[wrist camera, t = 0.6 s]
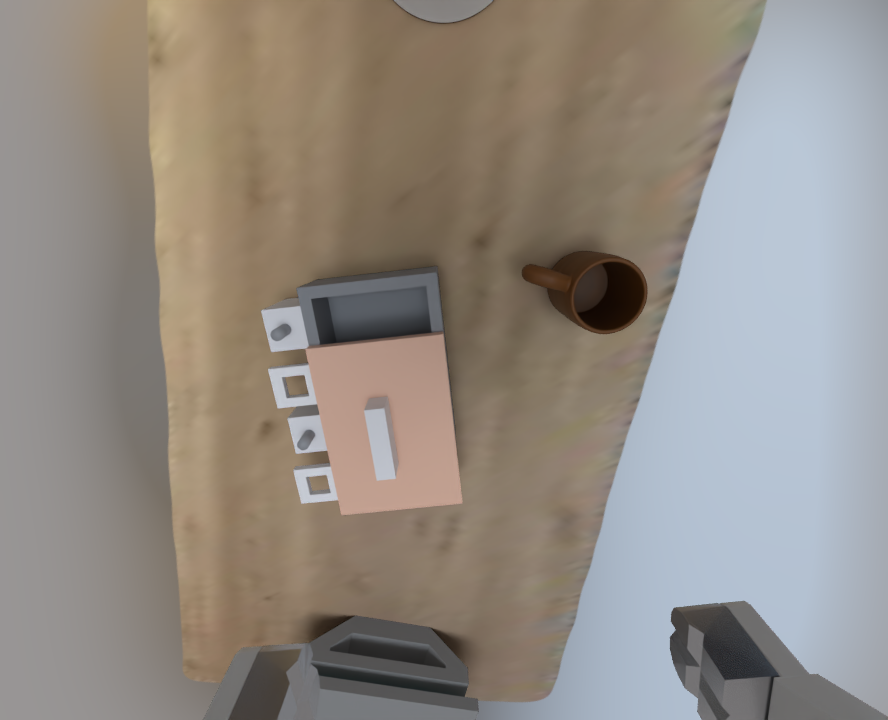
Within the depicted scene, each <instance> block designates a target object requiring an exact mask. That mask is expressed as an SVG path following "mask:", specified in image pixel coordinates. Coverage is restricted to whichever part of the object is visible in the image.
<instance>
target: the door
mask: <svg viewBox="0 0 888 720" xmlns="http://www.w3.org/2000/svg"><path fill="white" fill-rule="evenodd" d="M305 351H306V355H307V360H308V363H303V364H294V365H285V366H275V367H270V368H269V369H268V371H269V375H270V379H271V383H272V387H273V391H274V395H275V399H276V403H277V407H278V408H286V407H295V406H305V405H315V404H317V405H318V410H319V415H320V419H321V424H322V428H323V433H324V437H325V442H326V447H327V451H328V456H329V460H330V463H325V464H315V465H305V466H296V467H295V468H294V470H293V471H294V475H295V479H296V483H297V487H298V491H299V495H300V499H301V503H312V502H322V501H333V500H338V502H339V506H340V511H341V515H349V514H359V513H369V512H380V511H390V510H400V509H410V508H421V507H431V506H441V505H451V504H462V493H461V484H460V475H459V466H458V457H457V448H456V439H455V431H454V422H453V413H452V404H451V395H450V386H449V377H448V368H447V360H446V351H445V342H444V333H443V332H434V333H425V334H416V335H407V336H397V337H388V338H379V339H370V340H360V341H351V342H342V343H333V344H323V345H314V346H308V347H307V348H306V349H305ZM298 375H305V380H306V384H307V388H308V393H309V394H300V395H291V396H289V392H288V388H287V383H286V379H285V377H289V376H298ZM321 475H327V478H328V482H329V487H330V489H327V490H316V491H312V488H311V484H310V480H309V477H311V476H321Z"/></svg>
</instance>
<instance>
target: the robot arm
mask: <svg viewBox="0 0 888 720" xmlns="http://www.w3.org/2000/svg"><path fill="white" fill-rule="evenodd" d="M394 1H395V2H396V3H397V4H398V5H399V6H400V7H402V8H403V9H404V10H406V11H407V12H409V13H410V14H412V15H414V16H416V17H418V18H421V19H424V20H427V21H432V22H439V23H448V22H456V21H460V20H463V19H466V18H469V17H471V16H473V15H475V14H477V13H478V12H480V11H481V10H483V9H484V8H485V7H487V6H488V5H489V4H490V3H491V2H492V1H493V0H394ZM671 622H672V624H673V625H674V627H675V629H676V631H675V632H674V633H673V634H672V635H671V637H670V651H671V655H672V660H673V664H674V666H675V669H676V671H677V673H678V676H679V678H680V680H681V682H682V683H683V686H684V687H685V688H686V689H687V690H688V691H689V692H690V693H692V694H693V695H694V696H696V697H697V698H698V710H697V712H698V713H699V715H700V717H701V719H702V720H888V717H887V716H886V715H884V714H882V713H881V712H879V711H877V710H876V709H874V708H872V707H871V706H869V705H868V704H866V703H864V702H863V701H861V700H859V699H858V698H856V697H854V696H853V695H851V694H850V693H848V692H846V691H845V690H843V689H841V688H840V687H838V686H836V685H835V684H833V683H831V682H830V681H828V680H826V679H825V678H823V677H822V676H820V675H818V674H809V673H808V672H807V671H806V670H805V669H804V667H803V666H802V665H801V664H800V663H799V661H798V660H797V659H796V658H795V657H794V655H793V654H792V653H791V652H790V651H789V650H788V648H787V647H786V646H785V645H784V644H783V642H782V641H781V640H780V639H779V638H778V637H777V636H776V634H775V633H774V632H773V631H772V630H771V628H770V627H769V626H768V625H767V624H766V623H765V621H764V620H763V619H762V618H761V617H760V615H759V614H758V613H757V612H756V611H755V610H754V608H753V607H752V606H751V605H750V604H748V603H747V602H745V601H738V602H728V603H720V604H718V603H714V604H704V605H695V606H686V607H676V608H674V609H673V611H672V614H671ZM312 657H313V652H312V649H311V646H310V643H300V644H284V645H268V646H256V647H243V648H241V649H240V650H239V651H238V652H237V653H236V655H235V656H234V658H233V660H232V662H231V664H230V666H229V668H228V670H227V672H226V674H225V676H224V678H223V680H222V682H221V684H220V686H219V688H218V690H217V692H216V695H215V696H214V699H213V700H212V702H211V704H210V707H209V709H208V711H207V713H206V715H205V717H204V719H203V720H315V717H316V713H317V709H318V705H319V695H320V681H319V675H318V671H317V669H316V668H315V667H314V666H312V665H311V664H310V663H311V660H312Z"/></svg>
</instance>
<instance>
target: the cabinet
mask: <svg viewBox="0 0 888 720" xmlns="http://www.w3.org/2000/svg"><path fill="white" fill-rule="evenodd" d="M296 289H297V294H298V298H290V299H285V300H282V301H280V302H278V303H276V304H274V305H272V306H269V307H267V308H265V309H263V310H261V312H262V316H263V320H264V324H265V329H266V333H267V337H268V341H269V345H270V349H271V352H276V351H286V350H295V349H304V348H307V347H308V346H314V345H323V344H333V343H342V342H351V341H360V340H370V339H379V338H388V337H397V336H407V335H416V334H425V333H434V332H443V333H444V342H445V351H446V360H447V368H448V377H449V386H450V395H451V404H452V413H453V422H454V431H455V420H454V411H453V403H452V394H451V385H450V376H449V367H448V358H447V349H446V340H445V331H444V322H443V313H442V304H441V295H440V286H439V277H438V268H437V266H434V267H425V268H416V269H407V270H398V271H389V272H381V273H372V274H363V275H354V276H345V277H336V278H327V279H318V280H314V281H312V282H310V283H307V284H305V285H303V286H300V287H298V288H296ZM288 423H289V427H290V431H291V435H292V439H293V443H294V447H295V451H296V454H298V453H308V452H318V451H327V447H326V442H325V437H324V433H323V428H322V424H321V419H320V415H319V410H318V405H317V404H315V405H305V406H297V407H296V408H295V410H294V411H293V412H292V413H291V415H290V416H289V417H288ZM455 439H456V432H455ZM456 448H457V446H456Z"/></svg>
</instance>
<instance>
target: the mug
mask: <svg viewBox="0 0 888 720" xmlns="http://www.w3.org/2000/svg"><path fill="white" fill-rule="evenodd" d="M522 276H523V278H524V279H525V280H526V281H528V282H530V283H533V284H536V285H539V286H543V287H546V288H548V294H549V298H550V300H551V302H552V304H553V305H554V307H555V308H556V309H557V310H558V311H559V312H561V313H562V314H563V315H565V316H566V317H567V318H569V319H570V320H571V321H573V322H574V323H575V324H577V325H578V326H580V327H582V328H584V329H586V330H588V331H591V332H594V333H598V334H610V333H615V332H618V331H620V330H623V329H624V328H626V327H628V326H629V325H630V324H632V323H633V322H634V321H635V320H636V319H637V318H638V316H639V315H640V314H641V312H642V310H643V308H644V306H645V303H646V299H647V283H646V280H645V277H644V275H643V273H642V271H641V270H640V269H639V268H638V267H637V266H636V265H635V264H634V263H632V262H631V261H629V260H626V259H624V258H621V257H619V256H615V255H610V254H604V253H597V252H590V251H579V252H575V253H572V254H569V255H567V256H566V257H564V258H562V259H561V260H560V261H559V262H558V263H557V264H556V265H555V267H554V268H553V270H552V269H548V268H545V267H541V266H537V265H533V264H529V265H526V266H525V267H524V268H523V270H522Z"/></svg>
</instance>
